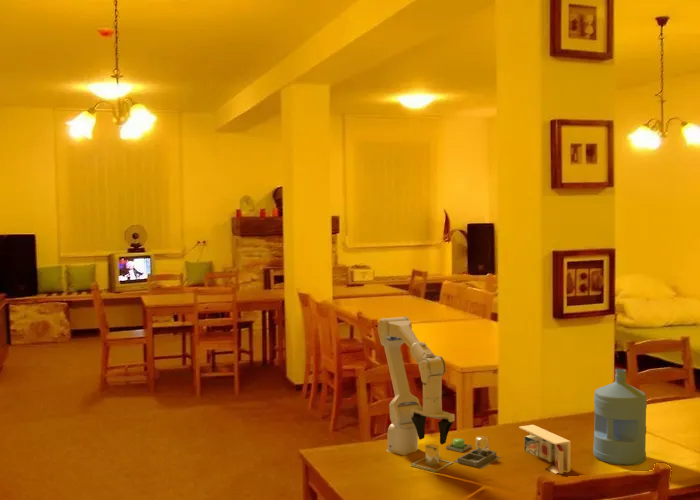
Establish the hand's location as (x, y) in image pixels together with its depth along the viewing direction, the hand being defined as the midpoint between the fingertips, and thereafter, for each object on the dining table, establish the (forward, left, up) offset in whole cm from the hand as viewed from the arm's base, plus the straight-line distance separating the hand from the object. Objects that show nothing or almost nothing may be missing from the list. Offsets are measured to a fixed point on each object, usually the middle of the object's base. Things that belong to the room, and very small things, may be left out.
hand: (432, 441), depth 225 cm
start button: (-1, +18, -7) cm, 19 cm away
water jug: (+42, +44, -8) cm, 61 cm away
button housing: (-1, +18, -8) cm, 20 cm away
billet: (0, 0, -8) cm, 8 cm away
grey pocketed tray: (+9, +12, -8) cm, 17 cm away
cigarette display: (+26, +24, -9) cm, 36 cm away
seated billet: (+9, +15, -7) cm, 19 cm away
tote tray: (0, 0, -8) cm, 8 cm away
